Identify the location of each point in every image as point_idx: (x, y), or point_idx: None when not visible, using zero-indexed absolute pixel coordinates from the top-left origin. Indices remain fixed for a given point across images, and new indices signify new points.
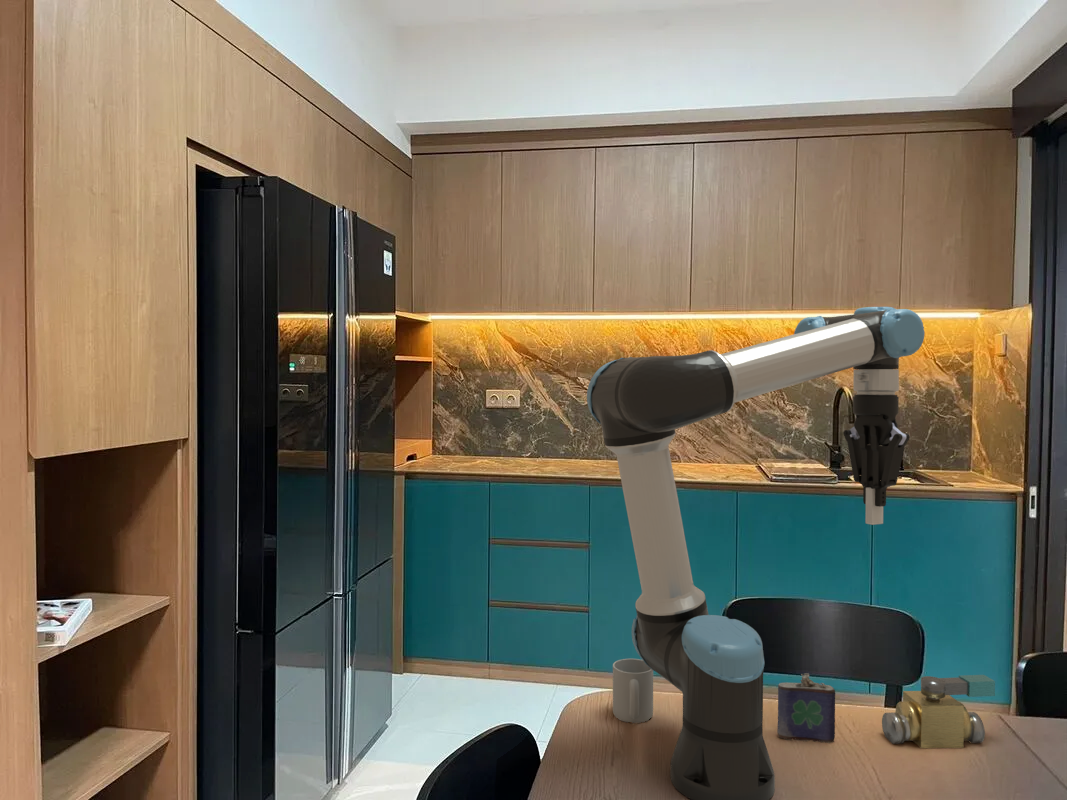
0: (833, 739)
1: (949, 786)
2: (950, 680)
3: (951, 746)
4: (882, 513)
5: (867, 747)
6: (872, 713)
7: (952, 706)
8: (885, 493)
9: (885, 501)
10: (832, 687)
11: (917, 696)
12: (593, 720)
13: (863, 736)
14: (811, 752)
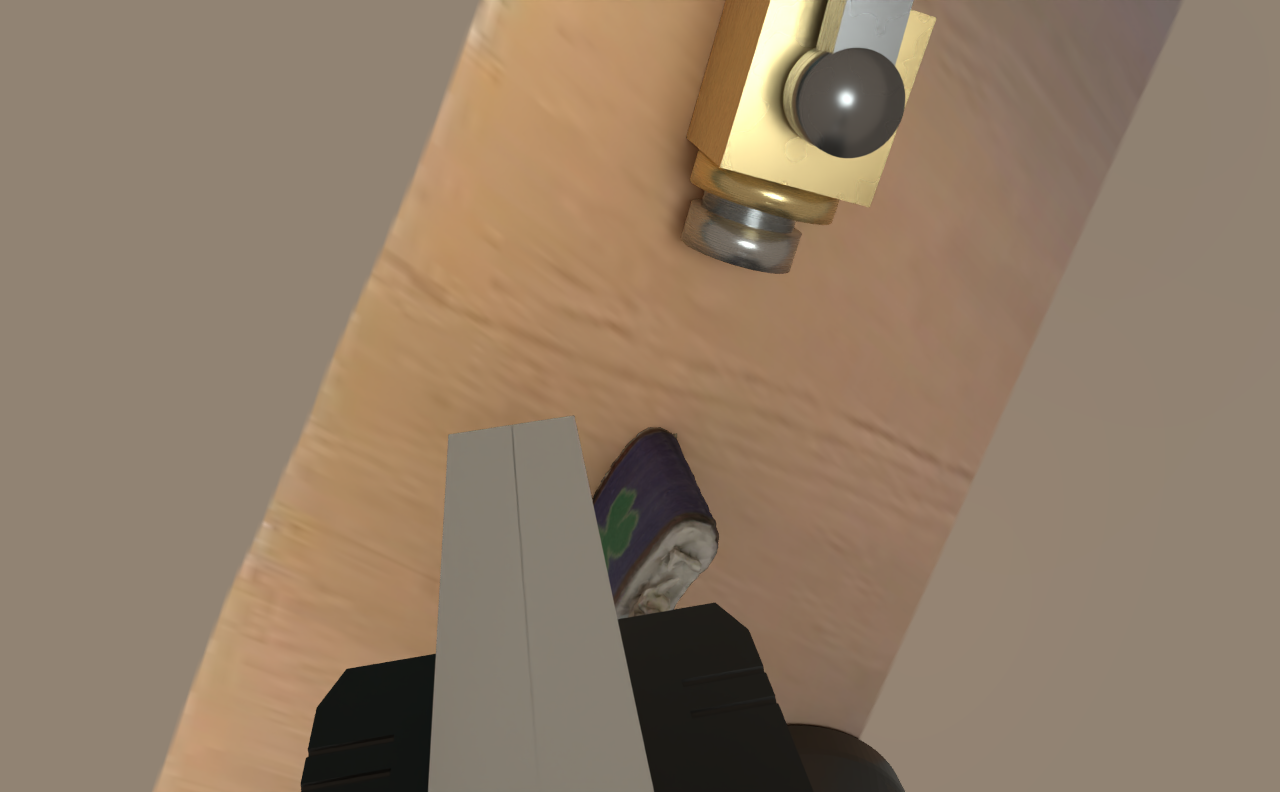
0: (678, 443)
1: (1033, 277)
2: (878, 7)
3: None
4: (587, 498)
5: (745, 352)
6: (507, 135)
7: (916, 71)
8: (803, 783)
9: (760, 668)
10: (696, 525)
11: (788, 148)
12: None
13: (672, 311)
14: None
